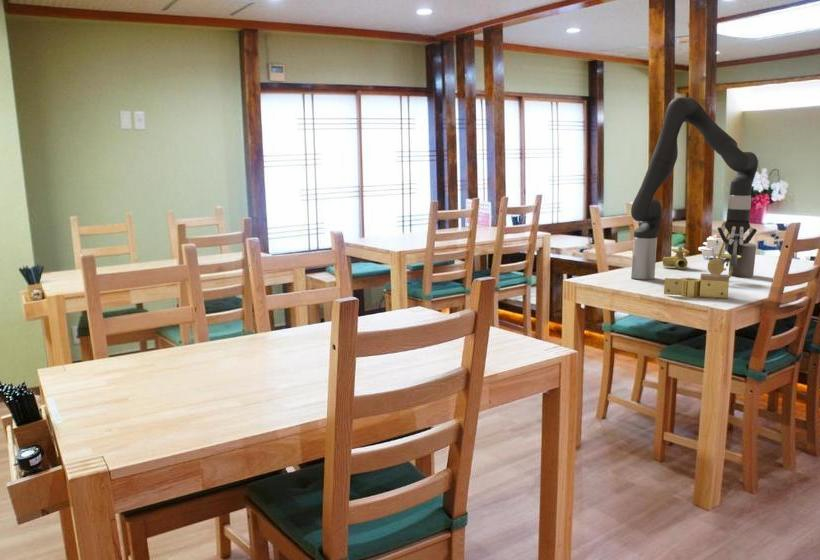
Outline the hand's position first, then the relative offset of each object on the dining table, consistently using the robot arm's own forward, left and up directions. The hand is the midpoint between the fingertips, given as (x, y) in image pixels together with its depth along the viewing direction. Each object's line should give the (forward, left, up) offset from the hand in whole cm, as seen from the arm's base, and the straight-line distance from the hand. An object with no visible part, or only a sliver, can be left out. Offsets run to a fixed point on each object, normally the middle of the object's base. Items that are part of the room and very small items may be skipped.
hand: (734, 254), depth 249 cm
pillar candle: (+9, +42, -15) cm, 45 cm away
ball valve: (-17, +55, -15) cm, 59 cm away
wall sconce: (0, +24, -15) cm, 28 cm away
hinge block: (-13, -8, -15) cm, 22 cm away
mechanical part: (+2, +87, -15) cm, 89 cm away
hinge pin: (0, 0, -4) cm, 4 cm away
